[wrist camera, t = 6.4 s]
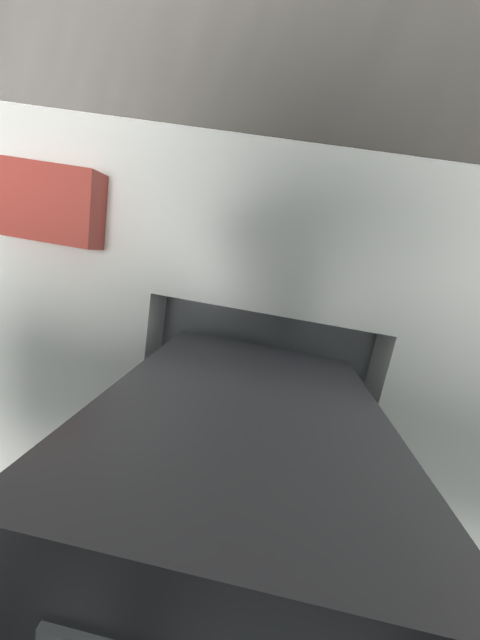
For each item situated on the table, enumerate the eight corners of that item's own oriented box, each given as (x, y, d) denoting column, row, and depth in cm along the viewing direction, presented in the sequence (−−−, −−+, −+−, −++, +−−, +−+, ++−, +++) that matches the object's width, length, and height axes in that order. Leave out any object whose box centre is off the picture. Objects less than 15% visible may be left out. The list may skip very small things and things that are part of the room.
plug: (313, 505, 10) (390, 1021, 3) (164, 473, 11) (-44, 874, 4) (348, 361, 9) (566, 675, 2) (181, 330, 10) (-62, 521, 3)
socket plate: (468, 630, 13) (522, 734, 10) (3, 516, 14) (-63, 580, 11) (641, 211, 9) (797, 193, 6) (1, 122, 11) (-94, 76, 8)
